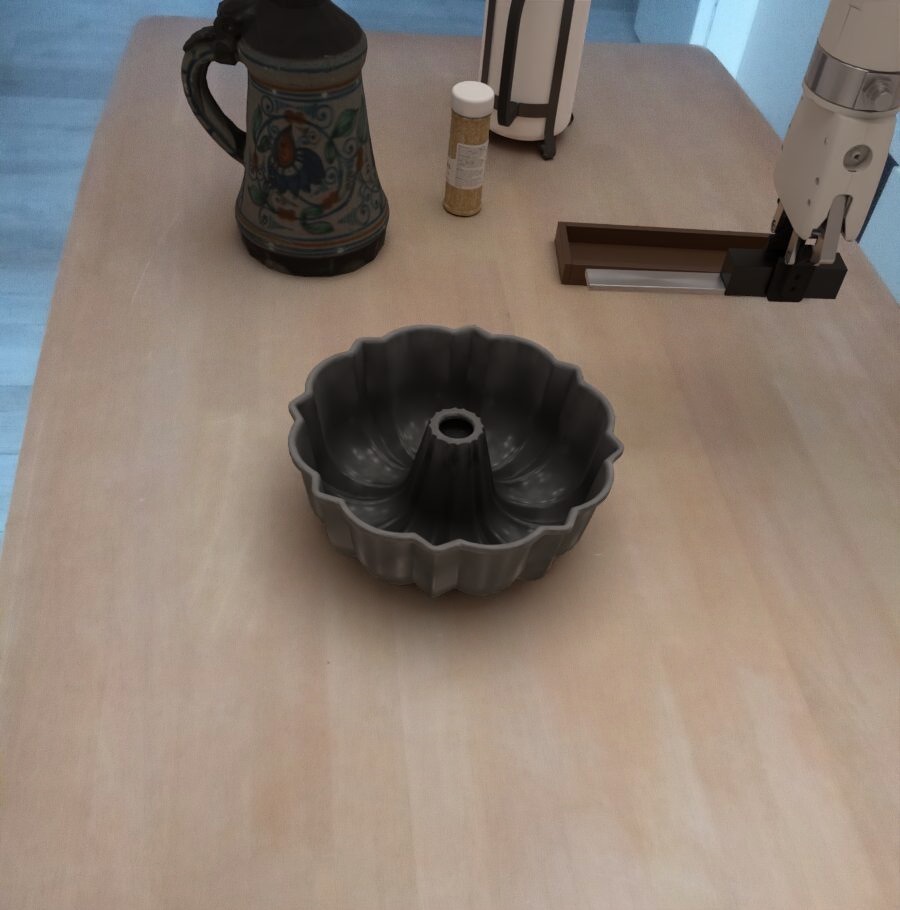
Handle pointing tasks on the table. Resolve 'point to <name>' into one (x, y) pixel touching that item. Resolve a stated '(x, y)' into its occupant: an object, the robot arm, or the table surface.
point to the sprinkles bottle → (468, 146)
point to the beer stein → (295, 132)
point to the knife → (721, 277)
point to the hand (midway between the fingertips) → (778, 286)
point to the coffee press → (533, 66)
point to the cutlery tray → (645, 248)
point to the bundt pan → (452, 456)
